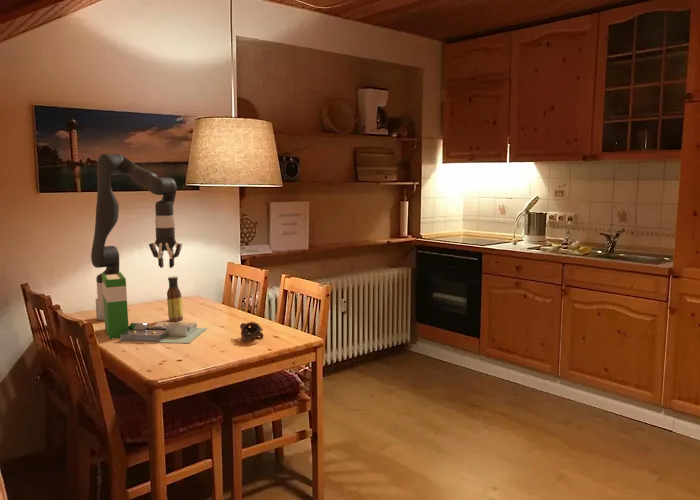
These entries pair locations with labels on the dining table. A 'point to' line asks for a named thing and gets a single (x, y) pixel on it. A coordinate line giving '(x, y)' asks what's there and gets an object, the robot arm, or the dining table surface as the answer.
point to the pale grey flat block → (177, 328)
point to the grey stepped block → (143, 333)
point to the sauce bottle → (174, 300)
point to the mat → (178, 337)
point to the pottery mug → (250, 331)
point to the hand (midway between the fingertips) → (166, 267)
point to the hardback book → (115, 304)
